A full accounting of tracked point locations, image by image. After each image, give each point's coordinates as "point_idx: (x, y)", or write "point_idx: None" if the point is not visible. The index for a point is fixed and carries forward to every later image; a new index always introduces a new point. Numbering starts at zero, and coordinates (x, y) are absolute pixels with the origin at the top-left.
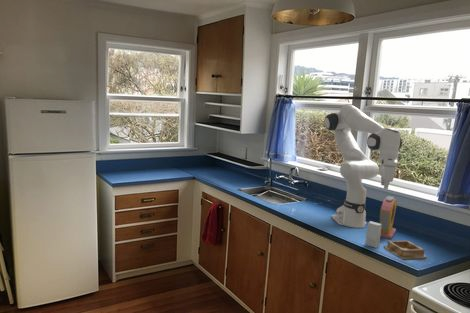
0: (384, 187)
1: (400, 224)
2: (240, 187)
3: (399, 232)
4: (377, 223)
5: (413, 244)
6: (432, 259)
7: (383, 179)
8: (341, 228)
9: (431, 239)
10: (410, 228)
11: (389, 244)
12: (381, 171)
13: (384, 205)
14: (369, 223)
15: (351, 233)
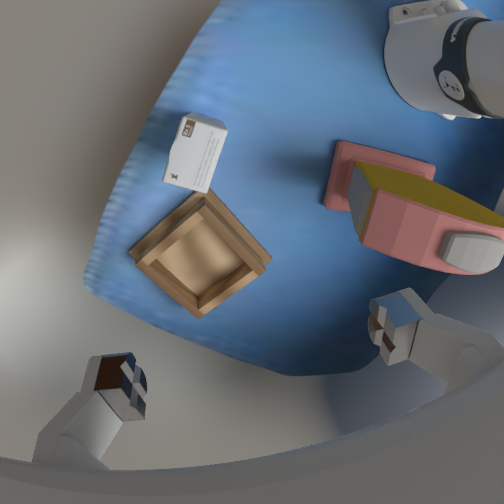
0: (88, 370)
1: None
2: None
3: None
4: (199, 171)
5: (231, 289)
6: (198, 322)
7: (446, 359)
8: (346, 11)
9: None
10: None
11: (195, 209)
12: (483, 493)
13: (408, 217)
14: (178, 128)
15: (305, 48)
